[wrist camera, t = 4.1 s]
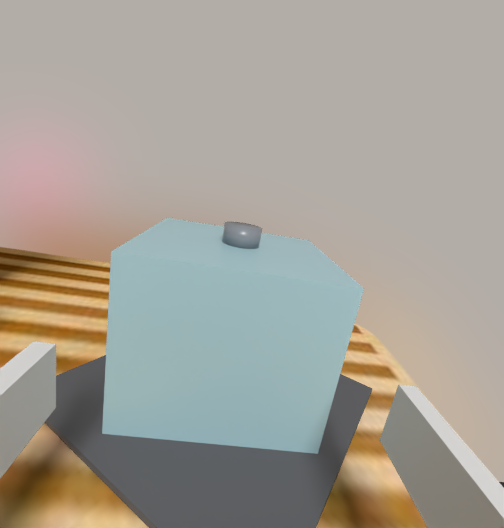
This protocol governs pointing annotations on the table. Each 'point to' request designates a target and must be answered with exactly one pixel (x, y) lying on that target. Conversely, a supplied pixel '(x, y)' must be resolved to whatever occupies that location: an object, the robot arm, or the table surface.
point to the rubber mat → (205, 464)
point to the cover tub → (225, 336)
